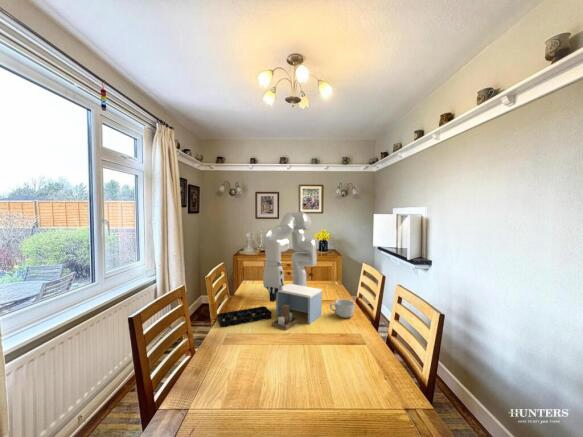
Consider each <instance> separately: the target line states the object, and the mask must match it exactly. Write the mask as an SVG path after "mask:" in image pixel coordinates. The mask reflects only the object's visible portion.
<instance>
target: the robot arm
mask: <svg viewBox="0 0 583 437" xmlns="http://www.w3.org/2000/svg"><path fill="white" fill-rule="evenodd" d="M311 228H312V219H311V217H310V216H309V215H308V214H307V213H306V212H303V211H301V212H299V211H290V212H286V213H285V214H284V215H283V217H282V218H281V221H280V223H279V224H277V225H275V226H274V227H272V228H270V229H268V230H267V231H266V232H265V234H264V236H263V238H262V241H261V247H262V249H263V251H265V266H264V268H263V274H262V275H263V276H262V284H263V288H265V289H266V290H267V291H268V294H269V302H271V303H272V302H273V303H274V302H276V293H277V292H278V291H281V290H283V288H282V287H283V286H285V276H284V270H283V264H284V263H283V262H282V253H283V252H287V251H288V250H289V248H290V246H291V245H290V244H292V250H293V251H295V252H293V253H292V254H291V264H292V284H294V285H300V286H306V287H307V271H306V269H305V267H311V268H312V267H315V266H316V265H317V262H318V256H317V243H316V240H315V238H313V237H312V238H311V237H305V231H308V230H310V229H311ZM289 236H291V243H290V240H289V238H288V237H289Z"/></svg>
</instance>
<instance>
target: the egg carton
mask: <svg viewBox="0 0 583 437" xmlns="http://www.w3.org/2000/svg"><path fill="white" fill-rule="evenodd" d="M272 314H273V312H272V311H271V310H270V309H269V308H267V307H266V306H263V305H262V306H257V307H250V308H244V309H239V310H233V311H226V312H220V313H217V314H216V318H217V322H218V323H219V325H220V327H221V328H227V327H230V326H231V325H232V326H238V325H241V324H248V323H252V322H259V321H262V320H264V321H266V320H270V319H272Z"/></svg>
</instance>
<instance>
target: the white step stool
mask: <svg viewBox="0 0 583 437" xmlns="http://www.w3.org/2000/svg"><path fill="white" fill-rule="evenodd" d="M282 288H283V290H281V291H278V292H277V293H276V301H275V316H277V317H280V316H281V315H282V306H283V305H289V310H291V311H297V312H301V313H305V314H307V324H308V325H311V324H312V323H313V322H315V321H316V320H318V319H319V318H320V317H322V314H323V312H322V301H323V300H322V296H323V294H322V293H323V292H322V291H323V289H322V288H316V287H310V286H307V285H306V286H300V285H294V284H293V283H287V284H286V285H285V284H284V286H282Z"/></svg>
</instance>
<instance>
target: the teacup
mask: <svg viewBox="0 0 583 437" xmlns="http://www.w3.org/2000/svg"><path fill="white" fill-rule="evenodd" d="M332 306H334V308H332ZM329 308H330V310H331V311H333V312H334V314H336V315H338V316H339V317H340V318H343V319H348V318H350V317H352V316H353V315H354V312H355V302H354V301H352V300H350V299H345V298H340V299H336V300H335V302H331V303H330V304H329Z"/></svg>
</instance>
